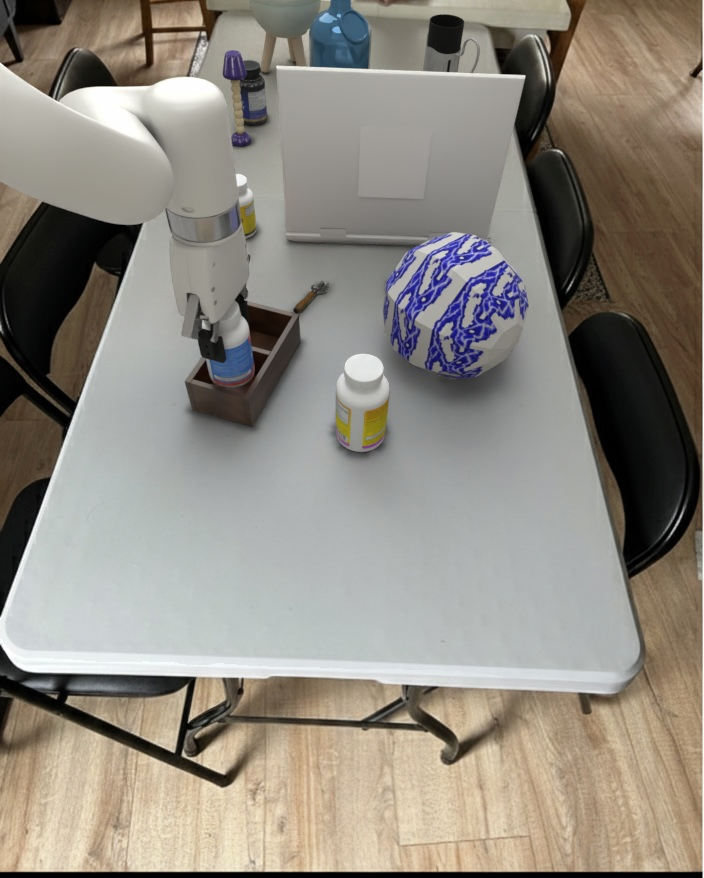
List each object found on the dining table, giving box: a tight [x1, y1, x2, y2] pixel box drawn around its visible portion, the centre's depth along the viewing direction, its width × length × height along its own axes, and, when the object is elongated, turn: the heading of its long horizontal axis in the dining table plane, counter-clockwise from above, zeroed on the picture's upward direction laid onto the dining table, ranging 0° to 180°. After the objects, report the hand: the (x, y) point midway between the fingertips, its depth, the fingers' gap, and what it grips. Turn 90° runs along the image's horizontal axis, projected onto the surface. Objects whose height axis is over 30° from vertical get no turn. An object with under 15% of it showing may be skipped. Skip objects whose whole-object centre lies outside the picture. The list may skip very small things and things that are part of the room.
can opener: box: [292, 280, 330, 314], centre depth 99 cm, size 9×2×1 cm, turn 144°
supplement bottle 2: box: [335, 353, 391, 453], centre depth 78 cm, size 7×7×13 cm
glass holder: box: [422, 13, 481, 73], centre depth 138 cm, size 9×14×15 cm, turn 43°
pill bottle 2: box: [239, 59, 268, 126], centre depth 131 cm, size 6×6×11 cm
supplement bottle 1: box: [236, 173, 257, 240], centre depth 106 cm, size 5×5×10 cm
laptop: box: [275, 65, 526, 247], centre depth 105 cm, size 35×26×28 cm
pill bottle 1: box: [202, 300, 255, 388], centre depth 79 cm, size 6×6×11 cm
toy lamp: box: [222, 49, 252, 147], centre depth 123 cm, size 5×5×17 cm
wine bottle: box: [308, 0, 372, 69], centre depth 129 cm, size 14×13×30 cm
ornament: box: [382, 232, 529, 380], centre depth 86 cm, size 20×20×20 cm
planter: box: [248, 0, 321, 74], centre depth 142 cm, size 16×16×22 cm
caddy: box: [184, 300, 301, 428], centre depth 87 cm, size 9×17×6 cm, turn 161°
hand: (226, 339), depth 78 cm, fingers closed on pill bottle 1, 6 cm apart
